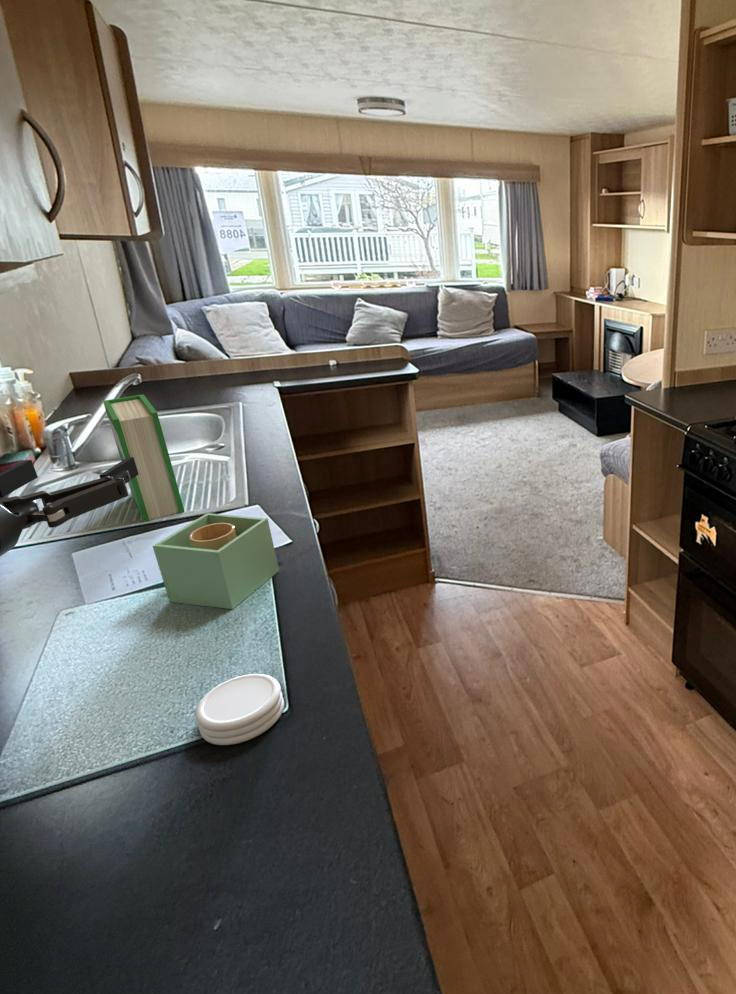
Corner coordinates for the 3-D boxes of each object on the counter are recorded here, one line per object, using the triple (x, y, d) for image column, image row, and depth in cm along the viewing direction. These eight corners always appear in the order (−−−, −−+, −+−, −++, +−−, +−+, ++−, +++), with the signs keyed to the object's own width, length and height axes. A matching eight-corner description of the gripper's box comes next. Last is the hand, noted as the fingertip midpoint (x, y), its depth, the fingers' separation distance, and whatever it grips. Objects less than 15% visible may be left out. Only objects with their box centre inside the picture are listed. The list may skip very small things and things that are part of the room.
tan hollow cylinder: (194, 589, 113) (179, 539, 109) (221, 569, 119) (209, 521, 116) (228, 593, 112) (215, 543, 108) (254, 573, 118) (243, 524, 114)
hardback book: (186, 517, 141) (157, 412, 132) (146, 528, 137) (113, 419, 128) (170, 492, 154) (143, 394, 144) (133, 501, 149) (102, 400, 140)
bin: (169, 601, 112) (152, 545, 107) (220, 564, 123) (207, 512, 119) (233, 609, 109) (218, 552, 105) (279, 571, 121) (267, 518, 117)
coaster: (194, 757, 80) (187, 735, 79) (207, 703, 89) (201, 683, 88) (282, 734, 84) (277, 712, 82) (286, 684, 92) (282, 664, 91)
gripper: (-148, 574, 73) (-2, 494, 92) (87, 564, 75) (181, 488, 94) (-179, 514, 70) (-21, 445, 89) (66, 506, 72) (168, 439, 91)
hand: (83, 467), depth 92 cm, fingers open, 13 cm apart
